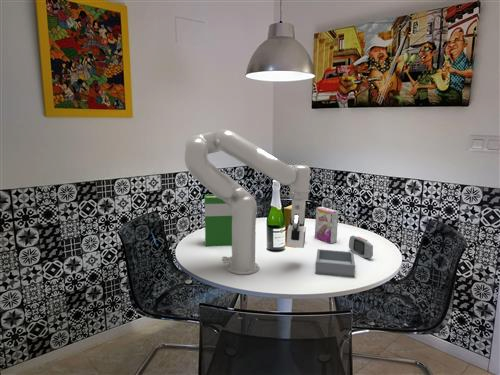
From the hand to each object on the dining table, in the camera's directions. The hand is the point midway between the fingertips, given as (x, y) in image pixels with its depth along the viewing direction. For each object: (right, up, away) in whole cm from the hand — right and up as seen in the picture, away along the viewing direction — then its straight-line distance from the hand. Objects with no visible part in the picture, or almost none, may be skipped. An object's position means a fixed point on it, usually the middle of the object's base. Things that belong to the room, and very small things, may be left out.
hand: (296, 236), depth 153 cm
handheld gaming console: (+31, -11, +15) cm, 36 cm away
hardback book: (-32, -7, +28) cm, 44 cm away
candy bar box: (+19, -7, +34) cm, 40 cm away
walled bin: (+16, -13, -1) cm, 20 cm away
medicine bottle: (0, -4, +1) cm, 4 cm away
